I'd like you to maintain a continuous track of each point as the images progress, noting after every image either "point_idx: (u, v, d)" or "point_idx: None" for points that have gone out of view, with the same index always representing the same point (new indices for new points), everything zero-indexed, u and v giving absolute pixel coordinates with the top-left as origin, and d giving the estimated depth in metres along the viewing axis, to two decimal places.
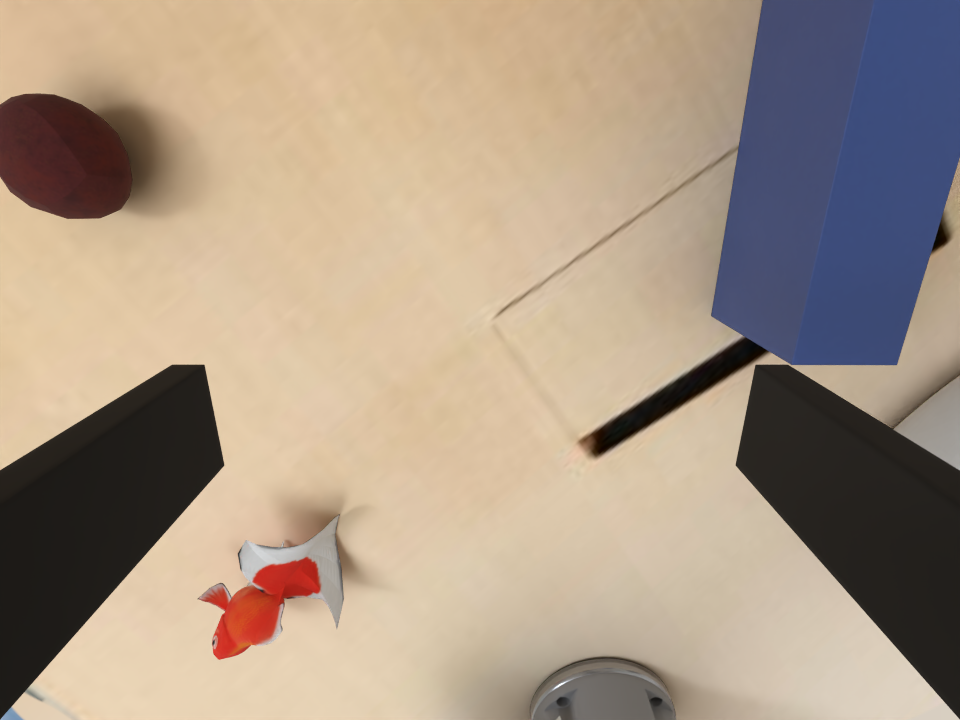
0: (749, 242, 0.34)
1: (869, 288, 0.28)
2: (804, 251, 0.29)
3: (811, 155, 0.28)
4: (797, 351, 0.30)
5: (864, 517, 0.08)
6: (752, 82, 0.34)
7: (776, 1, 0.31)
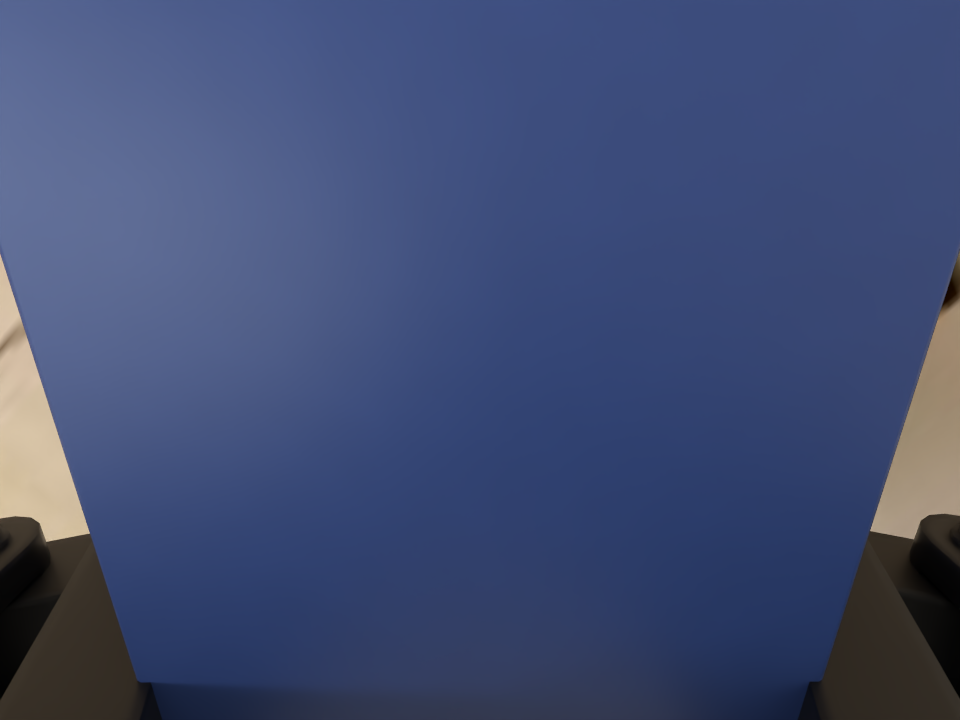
0: None
1: (507, 705, 0.05)
2: None
3: None
4: None
5: None
6: None
7: None
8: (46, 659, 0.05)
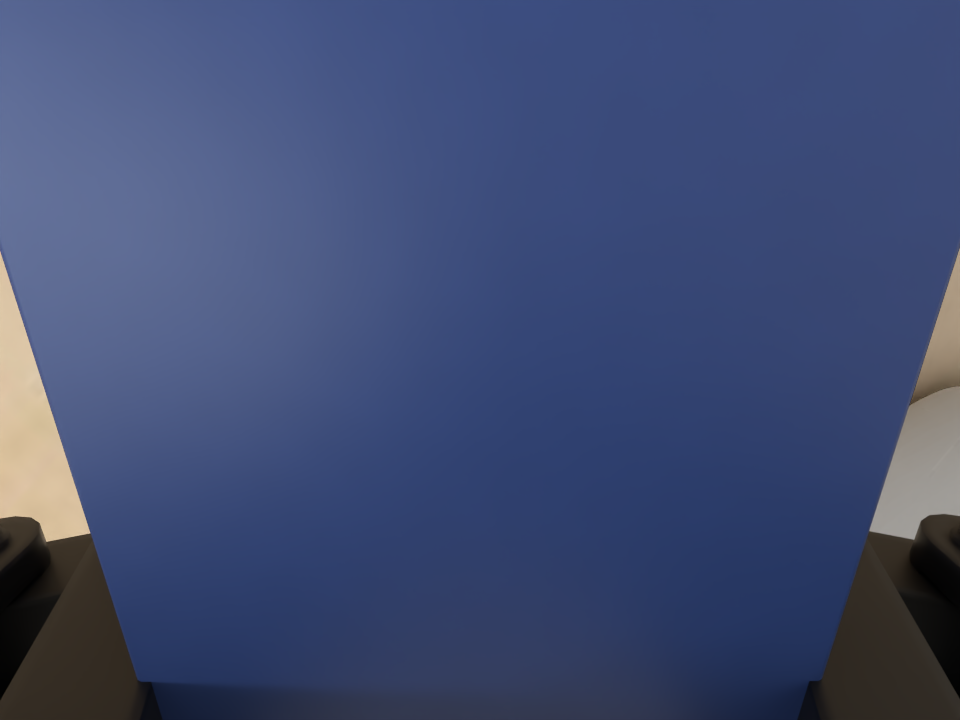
0: None
1: (506, 703, 0.05)
2: None
3: None
4: None
5: None
6: None
7: None
8: (46, 659, 0.05)
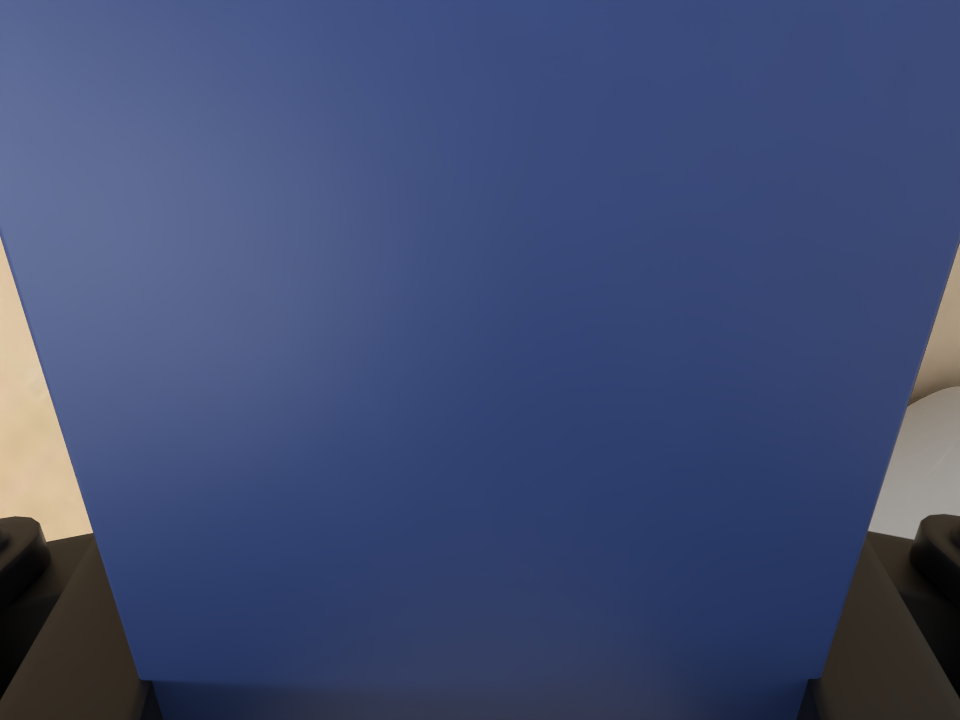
0: None
1: (507, 701, 0.05)
2: None
3: None
4: None
5: None
6: None
7: None
8: (46, 659, 0.05)
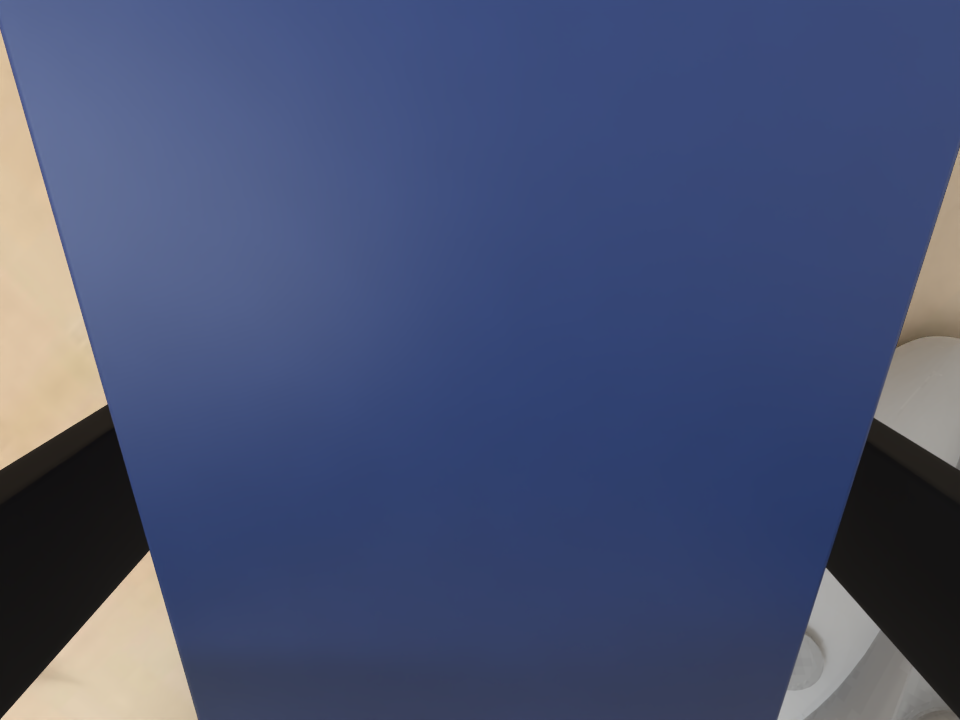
0: None
1: (519, 542, 0.05)
2: None
3: None
4: None
5: (863, 517, 0.08)
6: None
7: None
8: None
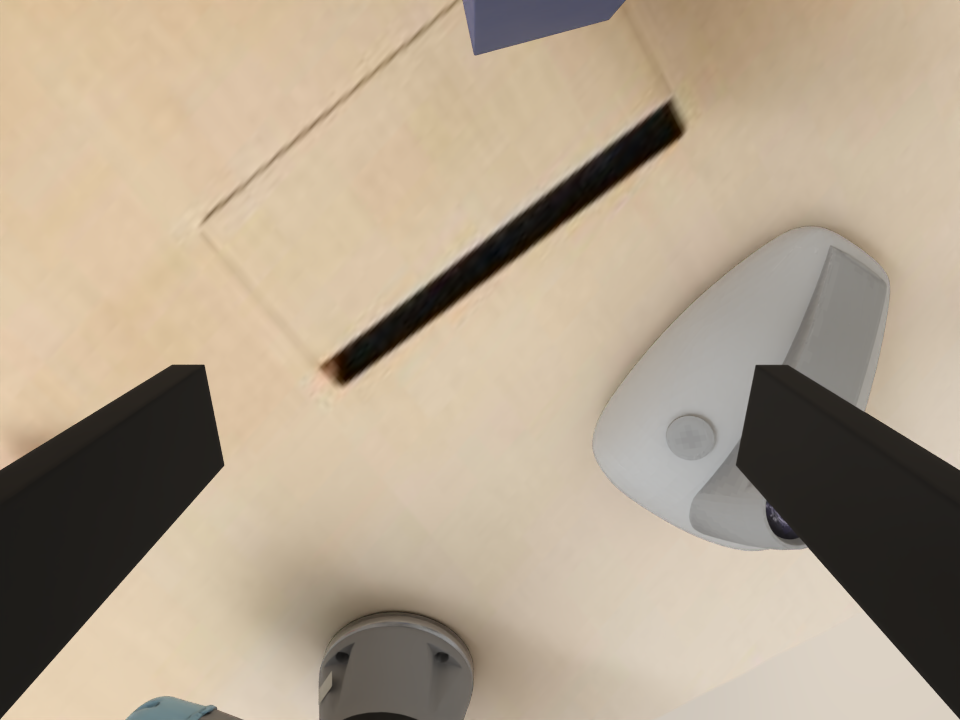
0: None
1: None
2: None
3: None
4: None
5: (864, 517, 0.08)
6: None
7: None
8: None
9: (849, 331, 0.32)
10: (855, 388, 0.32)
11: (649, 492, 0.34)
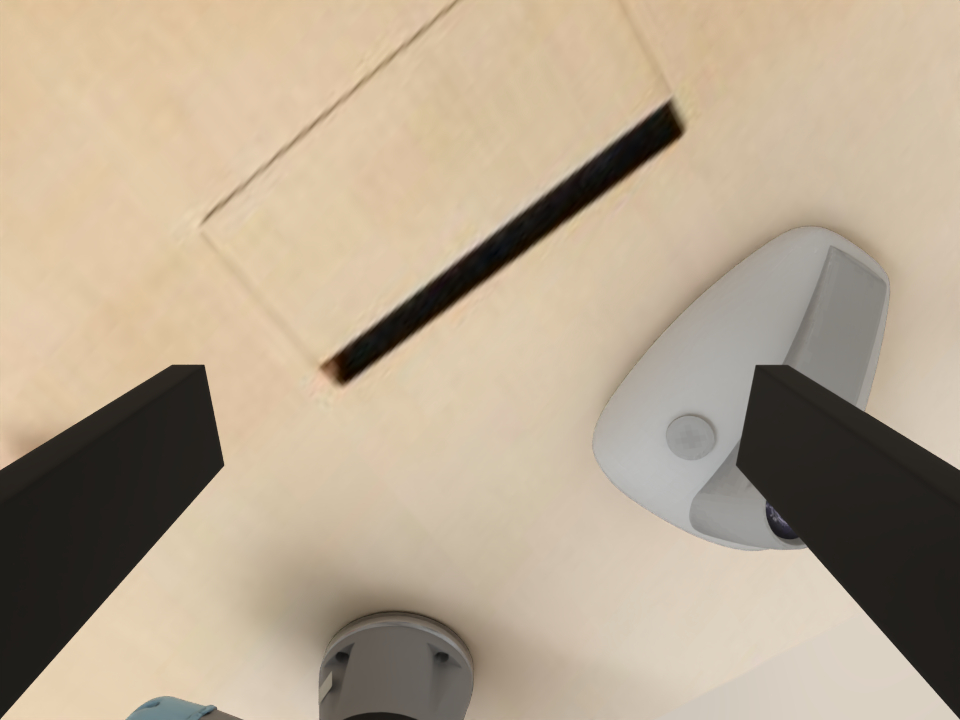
0: None
1: None
2: None
3: None
4: None
5: (864, 518, 0.08)
6: None
7: None
8: None
9: (849, 331, 0.32)
10: (855, 388, 0.32)
11: (648, 492, 0.34)
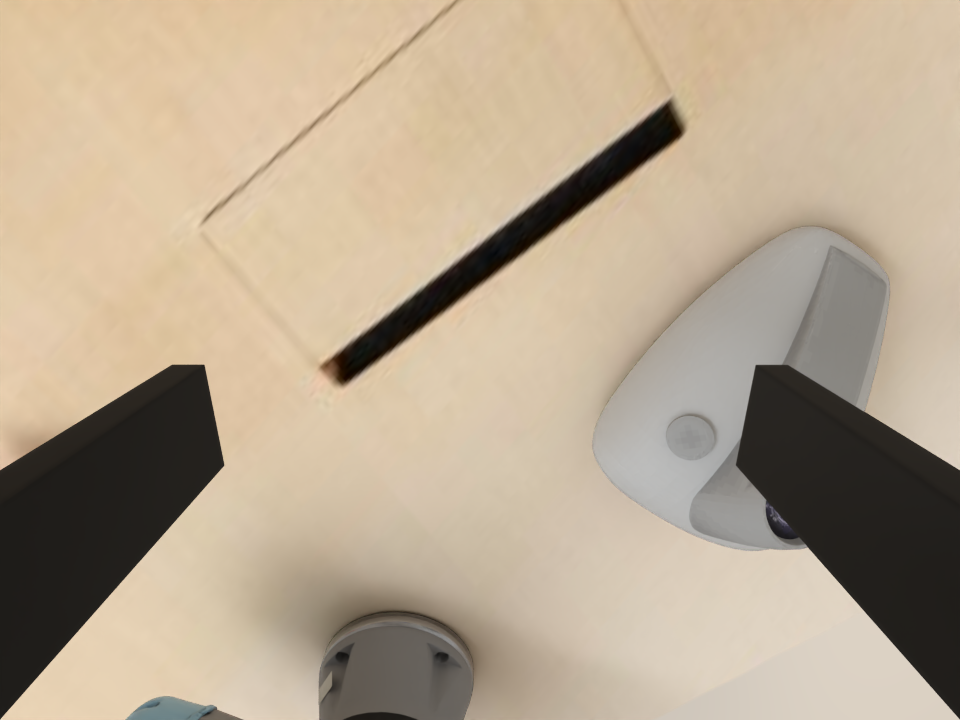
0: None
1: None
2: None
3: None
4: None
5: (864, 518, 0.08)
6: None
7: None
8: None
9: (849, 331, 0.32)
10: (855, 388, 0.32)
11: (648, 492, 0.34)
